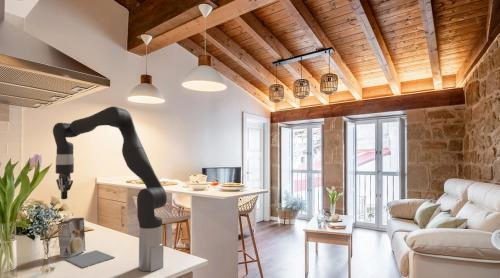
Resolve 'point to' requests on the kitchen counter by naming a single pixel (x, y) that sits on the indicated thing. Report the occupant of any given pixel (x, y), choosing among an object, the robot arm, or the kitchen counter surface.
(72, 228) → the coffee box
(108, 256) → the mat
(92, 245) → the kitchen counter surface
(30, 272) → the kitchen counter surface
